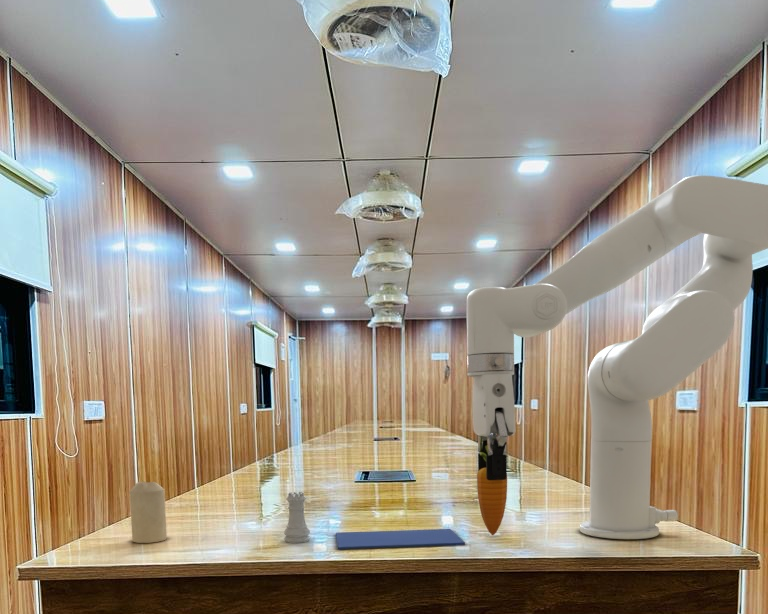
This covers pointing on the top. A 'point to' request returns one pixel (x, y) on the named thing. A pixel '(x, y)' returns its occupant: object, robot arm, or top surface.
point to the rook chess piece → (296, 520)
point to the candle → (148, 512)
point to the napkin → (397, 539)
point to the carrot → (491, 498)
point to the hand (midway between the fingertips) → (492, 476)
